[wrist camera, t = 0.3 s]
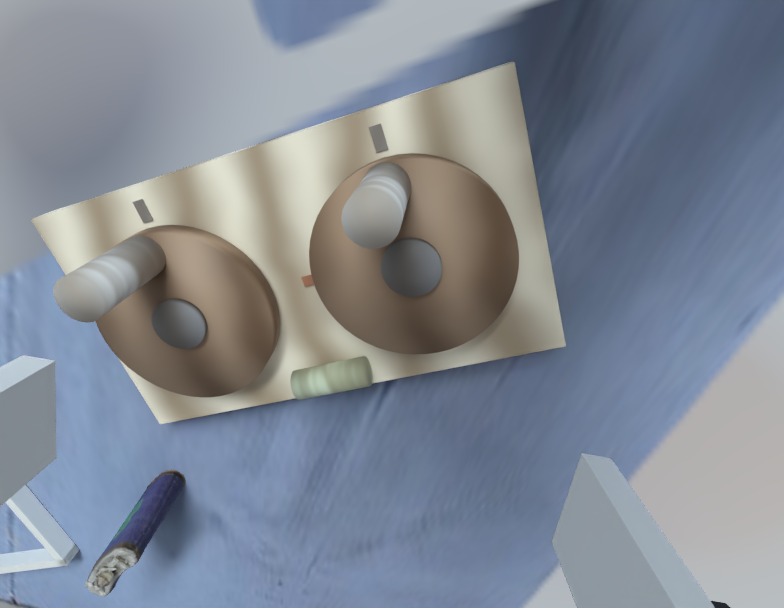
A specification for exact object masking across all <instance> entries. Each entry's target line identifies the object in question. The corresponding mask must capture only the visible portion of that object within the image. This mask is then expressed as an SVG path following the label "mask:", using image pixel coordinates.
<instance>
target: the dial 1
mask: <svg viewBox="0 0 784 608" xmlns="http://www.w3.org/2000/svg"><path fill="white" fill-rule="evenodd" d="M53 294H54V298H55V301H56V303H57V304H58V306H59V307H60V309H61V310H62V311H63V312H64V313H65V314H67V315H68V316H69V317H71V318H73V319H75V320H77V321H80V322H94V321H96V323H97V326H98V328H99V331H100V332H101V334H102V336H103V338H104V340H105V341H106V343H107V344H108V345H109V347H110V348H111V350H112V351H113V352H114V353H115V354H116V356H117V357H118V358H119V359H120V360H121V361H122V362H123V363H124V364H125V365H126V366H127V367H128V368H130V369H131V370H132V371H134V372H135V373H136V374H137V375H139V376H140V377H142V378H144V379H145V380H147V381H148V382H150V383H152V384H154V385H156V386H158V387H160V388H163V389H165V390H168V391H170V392H174V393H177V394H181V395H186V396H191V397H217V396H223V395H227V394H231V393H234V392H236V391H238V390H241V389H242V388H244V387H246V386H247V385H249V384H250V383H251V382H252V381H254V380H255V379H256V378H257V377H258V376H259V374H260V373H261V372H262V371H263V369H264V367H265V366H266V364H267V362H268V361H269V359H270V357H271V355H272V354H273V352H274V350H275V348H276V345H277V343H278V338H279V334H280V314H279V309H278V304H277V301H276V298H275V295H274V293H273V290H272V288H271V286H270V284H269V283H268V281H267V279H266V278H265V276H264V275H263V273H262V272H261V270H260V269H259V268H258V267H257V266H256V265H255V263H254V262H253V261H252V260H251V259H250V258H249V257H248V256H247V255H246V254H244V253H243V252H242V251H241V250H240V249H238V248H237V247H235V246H234V245H233V244H231V243H230V242H228V241H226V240H225V239H223V238H221V237H219V236H217V235H215V234H212V233H210V232H208V231H205V230H201V229H198V228H194V227H189V226H184V225H161V226H155V227H151V228H147V229H145V230H142V231H140V232H137V233H136V234H134V235H132V236H130V237H129V238H127V239H125V240H123V241H122V242H120V243H118V244H117V245H115V246H114V247H113V248H111V249H110V250H109V251H107V252H105V253H104V254H102V255H100V256H98V257H97V258H95V259H93V260H91V261H90V262H88V263H86V264H84V265H83V266H81V267H79V268H77V269H76V270H74V271H72V272H71V273H69V274H67V275H65V276H64V277H62V278H60V279H59V280H58V281H57V282H56V283H55V285H54V289H53Z"/></svg>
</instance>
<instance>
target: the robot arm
mask: <svg viewBox="0 0 784 608" xmlns="http://www.w3.org/2000/svg"><path fill="white" fill-rule="evenodd" d="M55 459H56V391H55V361H53V360H48V359H42V358H36V357H30V356H25V355H23V356H21V357H19V358H17V359H15V360H13V361H11V362H9V363H7V364H5V365H3V366H2V367H0V506H2V505H3V504H4V503H5V502H6V501H7V500H8V499H10V498H11V497H12V496H13V495H14V494H15V493H17V492H18V491H19V490H20V489H21V488H22V487H23V486H25V485H26V484H27V483H28V482H29V481H30V480H32V479H33V478H34V477H35V476H36V475H37V474H39V473H40V472H41V471H42V470H43V469H44V468H45V467H47V466H48V465H49V464H50V463H51V462H52V461H54V460H55ZM552 544H553V547H554V549H555V552H556V555H557V557H558V560H559V562H560V565H561V567H562V570H563V573H564V575H565V577H566V580H567V583H568V585H569V588H570V591H571V593H572V596H573V598H574V601H575V603H576V606H577V608H730V607H729V606H728V605H727V604H725V603H721V602H715V601H710V600H709V598H708V597H707V595H706V594H705V592H704V591H703V590H702V588H701V587H700V585H699V584H698V583H697V581H696V580H695V578H694V577H693V575H692V574H691V572H690V571H689V570H688V568H687V567H686V565H685V564H684V562H683V561H682V559H681V558H680V557H679V555H678V554H677V552H676V551H675V549H674V548H673V546H672V545H671V544H670V542H669V541H668V539H667V538H666V537H665V535H664V533H663V532H662V531H661V529H660V528H659V527H658V525H657V524H656V522H655V521H654V519H653V518H652V516H651V515H650V513H649V512H648V511H647V509H646V508H645V506H644V505H643V503H642V502H641V500H640V499H639V498H638V496H637V495H636V493H635V492H634V490H633V489H632V488H631V486H630V485H629V483H628V482H627V480H626V479H625V477H624V476H623V475H622V473H621V472H620V470H619V469H618V467H617V466H616V465H615V463H614V462H613V460H612V459H611V458H606V457H600V456H595V455H589V454H583V453H582V454H581V457H580V459H579V462H578V465H577V468H576V471H575V474H574V477H573V480H572V483H571V486H570V489H569V492H568V495H567V498H566V501H565V504H564V507H563V510H562V513H561V516H560V518H559V521H558V524H557V527H556V530H555V533H554V536H553V539H552Z"/></svg>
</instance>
